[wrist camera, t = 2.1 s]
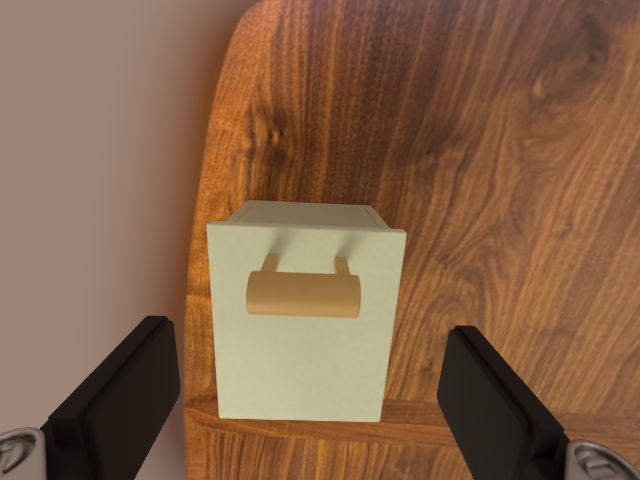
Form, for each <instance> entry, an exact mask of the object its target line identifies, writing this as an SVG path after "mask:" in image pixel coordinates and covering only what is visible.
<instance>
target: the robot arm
mask: <svg viewBox="0 0 640 480" xmlns="http://www.w3.org/2000/svg"><path fill="white" fill-rule="evenodd" d="M179 394H180V377H179V369H178V359H177V351H176V341H175V333H174V324H173V322H172V321H169V320H168V318H167V317H166V316H147V317H145V318H144V319H143V320H142V322H140V323H139V325H138V326H137V327H136V328H135V329H134V330H133V331H132V332H131V333H130V334H129V335H128V336H127V337H126V338H125V339H124V340H123V341H122V342H121V343H120V344H119V345H118V346H117V347H116V348H115V349H114V350H113V351H112V352H111V354H110V355H108V356H107V358H106V359H105V360H104V361H103V362H102V363H101V364H100V365H99V366H98V367H97V368H96V369H95V370H94V371H93V372H92V373H91V374H90V375H89V376H88V377H87V378H86V379H85V380H84V381H83V382H82V383H81V384H80V385H79V386H78V387H77V388H76V389H75V390H74V392H73V393H72V394H71V395H70V396H69V397H68V398H67V399H66V400H65V401H64V402H63V403H62V404H61V405H60V406H59V407H58V408H57V409H56V410H55V411H54V412H53V413H52V414H51V415H50V416H49V417H48V419H49V420H48V421H47V422H46V423H45V424H44V425H43V426H42V427H41V428H40V429H38V428H32V427H25V428H18V429H14V430H11V431H8V432H5V433H2V434H0V480H134V479H135V477H136V475H137V473H138V471H139V469H140V468H141V466H142V464H143V462H144V460H145V458H146V457H147V455H148V453H149V451H150V449H151V447H152V445H153V443H154V442H155V440H156V438H157V436H158V434H159V432H160V430H161V429H162V427H163V425H164V423H165V421H166V419H167V417H168V416H169V414H170V412H171V410H172V408H173V406H174V404H175V403H176V401H177V399H178V397H179ZM437 400H438V404H439V406H440V408H441V410H442V412H443V415H444V417H445V419H446V421H447V423H448V425H449V427H450V429H451V432H452V434H453V436H454V438H455V440H456V442H457V444H458V446H459V448H460V451H461V453H462V455H463V457H464V459H465V461H466V463H467V465H468V468H469V470H470V472H471V474H472V476H473V478H474V480H640V471H639V470H638V469H637V468H636V467H634V466H633V465H632V464H631V463H630V462H629V461H628V460H626V459H625V458H624V457H622V456H621V455H620V454H618V453H617V452H615V451H613V450H611V449H609V448H608V447H606V446H604V445H601V444H599V443H596V442H594V441H590V440H585V439H574V440H572V441H570V440H569V438H568V437H567V436H566V435H565V434H564V428H563V427H562V426H561V425H560V423H559V422H558V421H557V420H556V419H555V418H554V416H553V415H552V414H551V413H550V412H549V411H548V410H547V408H546V407H545V406H544V405H543V404H542V403H541V402H540V400H539V399H538V398H537V397H536V396H535V395H534V393H533V392H532V391H531V390H530V389H529V388H528V387H527V385H526V384H525V383H524V382H523V381H522V380H521V379H520V377H519V376H518V375H517V374H516V373H515V372H514V370H513V369H512V368H511V367H510V366H509V365H508V364H507V362H506V361H505V360H504V359H503V358H502V357H501V356H500V354H499V353H498V352H497V351H496V350H495V349H494V347H493V346H492V345H491V344H490V343H489V342H488V341H487V339H486V338H485V337H484V336H483V335H482V334H481V333H480V331H479V330H478V329H477V328H476V327H475V326H461V325H457V326H455V328H454V330H450V331H449V335H448V340H447V345H446V350H445V355H444V360H443V365H442V370H441V375H440V380H439V385H438V390H437Z"/></svg>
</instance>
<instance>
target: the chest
mask: <svg viewBox="0 0 640 480" xmlns="http://www.w3.org/2000/svg"><path fill="white" fill-rule="evenodd" d="M226 222H249V223H271V224H294V225H317V226H339V227H362V228H385V229H390V228H389V227H388V225H387V224H386V223H385V222H384V221H383V219H382V218H381V217H380V216H379V215H378V214H377V212H376V211H375V210H374V209H373V208H372V207H371V206H369V205H347V204H326V203H304V202H283V201H261V200H248V201H247V202H245V203H244V204H243V205H242V206H241V207H240V208H239V209H238V210H237V211H236V212H235V213H233V214H232V215H231V216H230V217H229V218H228V219H227V220H226Z"/></svg>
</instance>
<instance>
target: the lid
mask: <svg viewBox="0 0 640 480" xmlns="http://www.w3.org/2000/svg"><path fill="white" fill-rule="evenodd" d="M406 236H407V233H406V232H405V231H404V230H403V229H385V228H362V227H339V226H317V225H294V224H271V223H249V222H226V221H210V222H209V223H208V224H207V240H208V255H209V271H210V286H211V301H212V316H213V331H214V347H215V362H216V377H217V392H218V407H219V418H233V419H275V420H317V421H358V422H380V417H381V410H382V403H383V396H384V389H385V382H386V375H387V368H388V361H389V354H390V348H391V341H392V334H393V327H394V320H395V313H396V306H397V299H398V292H399V285H400V278H401V271H402V264H403V257H404V250H405V243H406Z"/></svg>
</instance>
